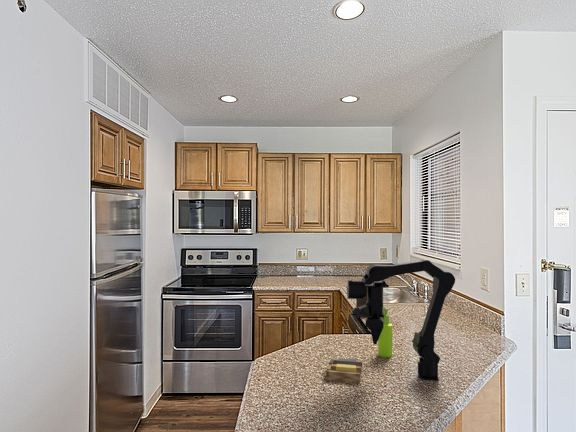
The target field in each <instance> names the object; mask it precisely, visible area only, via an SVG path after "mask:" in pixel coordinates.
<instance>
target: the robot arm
mask: <svg viewBox="0 0 576 432" xmlns="http://www.w3.org/2000/svg"><path fill="white" fill-rule="evenodd" d="M420 272H424V273H426V274H427V275H428V276H430V277H431V278H432V295H431V299H430V301H429V305H428V308H427V311H426V314H425V318H424V322H423V325H422V327H421V329H420V331H419V332H417V331H414V334H413V339H412V340H411V342H412V348H413V350H414V351H415V352H416V353H417V354H418V356H419V361H417V375H418V376H419V379H421V380H430V381H431V380H432V381H440V380H439V363H440V360H441V357H440V356H439V355H438V354H437V353H436V352H435V343H436V341H435V333H436V330H437V326H438V324H439V319H440V316H441V313H442V310H443V307H444V304H445V300H446V297H448V295H449V294H450V292H451V291H452V289H453V288H454V286H455V284H456V277H455V276H454V274H453V273H451V272H449V271H447V270H444V269H442V268H440V267H438V266H437V265H436V264H434V263H433V262H431V261H430V260H428V259H420V260H415V261H409V262H402V263H396V264H381V263H380V264H376V263H375V264H370V265H369V266H368V267H367V268H366V273H365V274H364V276H363V277H362V278H361V280H353V279H349V280H347V287H346V298H347V300H356V299H363V297H365V296H366V287H367V303H366V305H363V306H360V307H354V308H352V309H351V313H352V316H353V319H354V320H357V319H359V318H362V317H365V315H366V317H365V318H366V319H365V328H367V329H368V330H369V331H370V334H371V339H372V344H373V345H378V339H379V337H380V334H381V332H382V330H383V328H384V319H382V318H384V312H383V307H384V288H389V287H390V286H389V285H388V283H386V281H385V280H388V279H389V278H392V277H395V276H401V275H406V274H412V273H413V274H414V273H420ZM372 283H373V284H372ZM370 284H371V285H370Z"/></svg>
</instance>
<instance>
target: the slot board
mask: <svg viewBox="0 0 576 432" xmlns="http://www.w3.org/2000/svg"><path fill="white" fill-rule="evenodd" d="M337 364H338V358H331V359H330V360H329V362H328V365H327V367H326V371H325V380H327V381H328V380H329V381H337V382H346V383H347V382H350V383H358V384H359V383H361V380H362V373H363V361H362V360H357V366H356V373H355V372H344V371H336V365H337Z"/></svg>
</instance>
